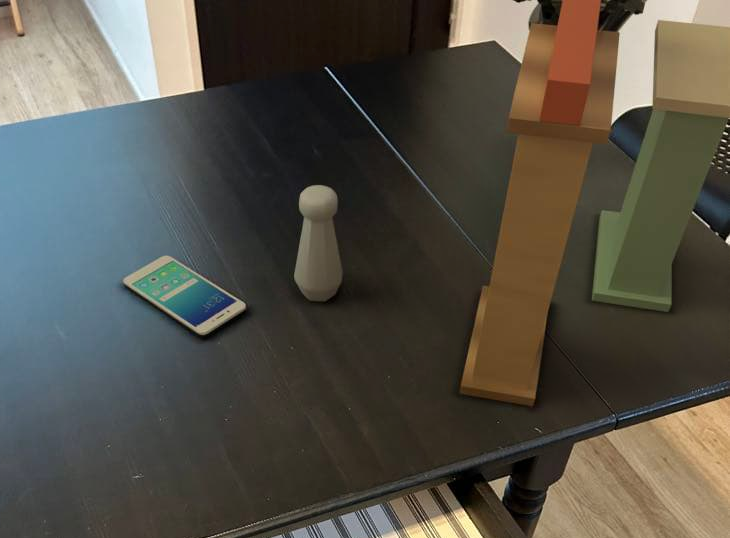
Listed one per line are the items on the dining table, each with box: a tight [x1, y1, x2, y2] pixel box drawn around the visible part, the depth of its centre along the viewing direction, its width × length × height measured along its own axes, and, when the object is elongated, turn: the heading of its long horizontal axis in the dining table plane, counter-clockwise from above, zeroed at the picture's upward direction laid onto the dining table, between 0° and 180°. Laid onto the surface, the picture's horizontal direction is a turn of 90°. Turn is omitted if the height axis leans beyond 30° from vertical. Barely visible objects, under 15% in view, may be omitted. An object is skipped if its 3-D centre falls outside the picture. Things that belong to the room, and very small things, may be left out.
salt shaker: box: [293, 184, 343, 302], centre depth 95 cm, size 6×6×13 cm
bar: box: [539, 0, 601, 126], centre depth 72 cm, size 28×3×3 cm, turn 166°
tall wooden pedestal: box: [459, 23, 621, 407], centre depth 82 cm, size 18×8×30 cm, turn 166°
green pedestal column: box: [591, 19, 730, 313], centre depth 94 cm, size 18×9×24 cm, turn 166°
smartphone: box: [122, 255, 247, 339], centre depth 99 cm, size 8×1×15 cm
